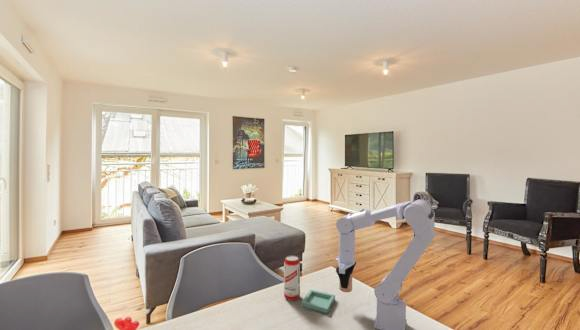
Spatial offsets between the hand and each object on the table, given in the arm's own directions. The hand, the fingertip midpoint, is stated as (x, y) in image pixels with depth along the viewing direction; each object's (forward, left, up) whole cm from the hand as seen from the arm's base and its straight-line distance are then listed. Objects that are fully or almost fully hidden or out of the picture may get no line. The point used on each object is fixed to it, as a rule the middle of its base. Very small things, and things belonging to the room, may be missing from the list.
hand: (345, 284), depth 102 cm
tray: (+10, +2, -9) cm, 13 cm away
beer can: (+21, +2, -9) cm, 23 cm away
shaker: (0, 0, -2) cm, 2 cm away
